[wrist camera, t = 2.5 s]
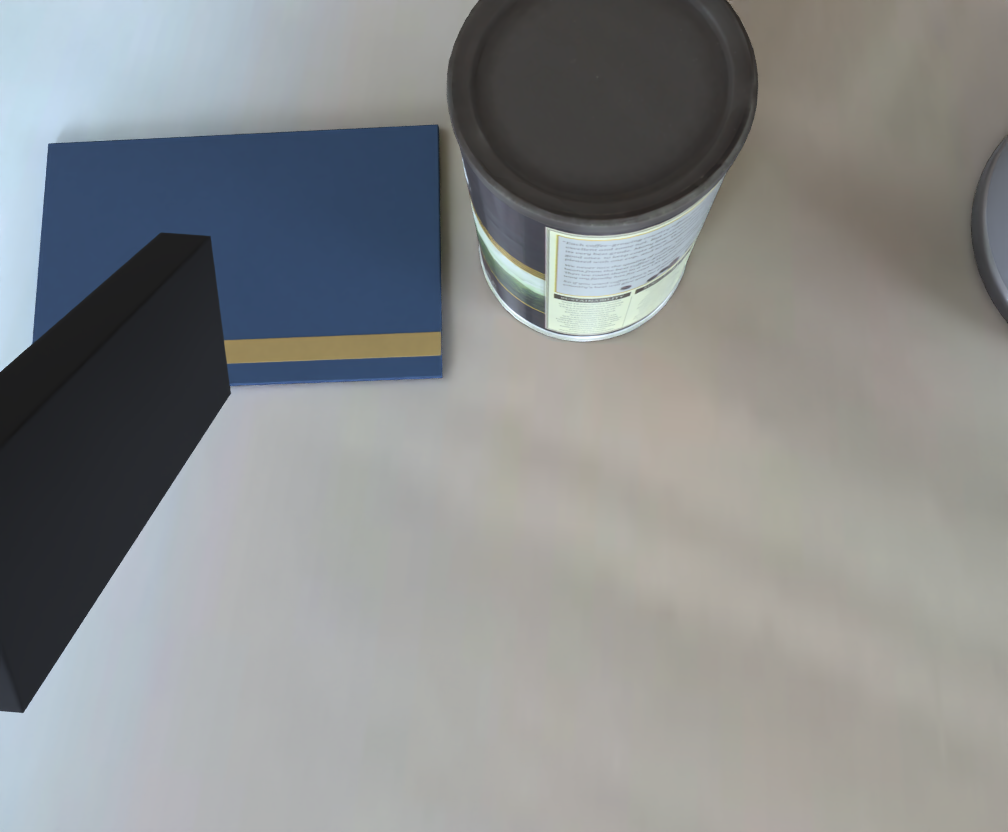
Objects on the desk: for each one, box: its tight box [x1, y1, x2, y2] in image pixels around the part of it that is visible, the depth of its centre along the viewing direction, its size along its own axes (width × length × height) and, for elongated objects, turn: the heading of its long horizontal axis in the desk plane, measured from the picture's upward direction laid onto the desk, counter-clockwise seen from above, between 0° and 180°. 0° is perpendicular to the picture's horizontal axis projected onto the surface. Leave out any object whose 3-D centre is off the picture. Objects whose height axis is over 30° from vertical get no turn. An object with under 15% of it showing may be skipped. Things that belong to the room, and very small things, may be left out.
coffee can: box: [447, 0, 758, 341], centre depth 36 cm, size 10×10×14 cm
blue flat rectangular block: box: [32, 125, 442, 386], centre depth 43 cm, size 20×13×1 cm, turn 92°
